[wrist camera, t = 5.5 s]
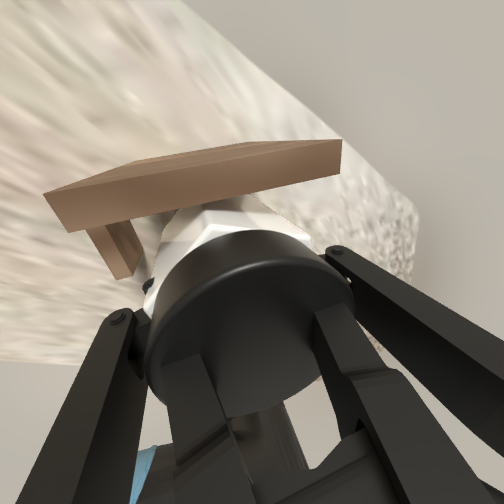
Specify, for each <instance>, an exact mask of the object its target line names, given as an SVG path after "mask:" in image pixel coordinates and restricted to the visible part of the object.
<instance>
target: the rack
mask: <svg viewBox="0 0 504 504" xmlns="http://www.w3.org/2000/svg"><path fill="white" fill-rule="evenodd" d="M341 151H342V139H332V140H299V141H266V142H245V143H239V144H233V145H227V146H222V147H216V148H210V149H204V150H198V151H192V152H186V153H180V154H174V155H168V156H162V157H157V158H151V159H145V160H139V161H134V162H132V163H129V164H126V165H123V166H120V167H117V168H115V169H112V170H109V171H106V172H103V173H101V174H98V175H95V176H92V177H89V178H86V179H84V180H81V181H78V182H75V183H72V184H69V185H67V186H64V187H61V188H58V189H55V190H52V191H50V192H47V193H44V194H43V195H44V197H45V198H46V200H47V202H48V203H49V205H50V206H51V208H52V209H53V211H54V212H55V214H56V215H57V217H58V218H59V220H60V221H61V223H62V224H63V226H64V227H65V229H66V230H67V232H68V233H70V232H75V231H80V230H84V229H85V230H86V232H87V233H88V235H89V236H90V238H91V240H92V241H93V243H94V245H95V246H96V248H97V250H98V251H99V253H100V254H101V256H102V258H103V259H104V261H105V263H106V264H107V266H108V268H109V269H110V271H111V272H112V274H113V276H114V277H115V279H116V280H119V279H123V278H127V277H130V276H133V274H134V271H135V269H136V266H137V264H138V261H139V258H140V256H141V253H142V251H143V247H142V245H141V243H140V241H139V239H138V237H137V235H136V233H135V231H134V229H133V226H132V224H131V222H130V219H135V218H139V217H144V216H148V215H153V214H158V213H162V212H167V211H171V210H176V209H180V208H185V207H190V206H194V205H199V204H203V203H208V202H213V201H217V200H222V199H226V198H231V197H235V196H240V195H245V194H249V193H254V192H258V191H263V190H268V189H272V188H277V187H281V186H286V185H290V184H295V183H300V182H304V181H309V180H313V179H318V178H323V177H327V176H332V175H336V174H340V164H341Z"/></svg>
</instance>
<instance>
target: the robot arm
mask: <svg viewBox="0 0 504 504" xmlns="http://www.w3.org/2000/svg"><path fill="white" fill-rule="evenodd" d="M318 256H319V257H321V258H322V259H323V260H324V261H326V262H327V263H328V264H329V265H330V266H332V267H333V268H334V269H335V270H337V271H338V272H339V273H340V274H341V275H342V276H343V277H344V278H345V280H346V281H347V283H348V284H349V286H350V288H351V290H352V292H353V295H354V299H355V306H356V315H355V318H354V317H353V315H352V314H351V312H350V311H349V309H348V308H347V306H346V305H345V303H344V302H343V303H340V304H337V305H335V306H332V307H329V308H326V309H323V310H320V311H318V312H315V313H314V356H315V359H316V362H317V364H318V367H319V370H320V373H321V375H322V378H323V381H324V384H325V386H326V389H327V392H328V395H329V398H330V400H331V403H332V406H333V409H334V412H335V414H336V418H337V423H338V429H339V433H340V437H341V441H340V442H339V444H338V445H337V446H336V447H335V448H334V449H333V451H332V452H331V453H330V454H329V455H328V456H327V457H326V458H325V459H324V461H323V462H322V463H321V464H320V465H319V466H318V467H317V468H315V469H309V467H308V464H307V462H306V459H305V456H304V454H303V451H302V449H301V446H300V444H299V441H298V439H297V436H296V434H295V431H294V428H293V426H292V423H291V421H290V418H289V416H288V413H287V410H286V408H285V405H284V403H283V401H282V402H280V403H278V404H275V405H273V406H271V407H268V408H266V409H263V410H260V411H257V412H253V413H250V414H246V415H241V416H236V417H229V418H227V417H226V414H225V411H224V409H223V406H222V404H221V401H220V399H219V396H218V394H217V391H216V389H215V387H214V384H213V382H212V380H211V378H210V375H209V373H208V371H207V369H206V366H205V364H204V362H203V359H202V357H201V355H200V353H199V354H197V355H194V356H191V357H188V358H185V359H182V360H180V361H177V362H174V363H171V364H168V365H166V366H163V367H160V369H161V375H162V381H163V387H164V393H165V399H166V404H167V410H168V416H169V422H170V428H171V434H172V440H173V443H170V444H166V445H161V446H157V445H153V446H152V447H151V448H148V449H145V450H141V451H138V447H139V440H140V434H141V428H142V421H143V415H144V409H145V402H146V396H147V390H148V382H147V380H146V376H145V371H144V356H145V350H146V345H147V340H148V334H149V329H150V324H151V319H150V318H149V316H148V315H147V314H146V313H145V312H144V310H143V308H141V309H139V310H137V311H135V312H133V311H132V310H131V309H130V308H123V309H119V310H117V311H115V312H113V313H111V314H110V315H109V316H108V317H106V318H105V319H104V321H103V322H102V324H101V326H100V328H99V330H98V332H97V334H96V336H95V338H94V341H93V343H92V345H91V347H90V349H89V351H88V353H87V355H86V357H85V359H84V361H83V364H82V366H81V368H80V370H79V372H78V374H77V376H76V378H75V381H74V383H73V384H72V387H71V389H70V391H69V393H68V395H67V397H66V399H65V401H64V403H63V405H62V407H61V409H60V412H59V414H58V416H57V418H56V420H55V422H54V424H53V426H52V428H51V430H50V432H49V435H48V437H47V439H46V441H45V443H44V445H43V447H42V449H41V451H40V453H39V455H38V457H37V460H36V462H35V464H34V466H33V468H32V470H31V472H30V474H29V476H28V478H27V480H26V483H25V485H24V487H23V489H22V491H21V493H20V495H19V497H18V499H17V501H16V503H15V504H504V493H502V492H501V491H499V490H497V489H496V488H494V487H492V486H490V485H489V484H487V483H485V482H484V481H482V480H480V479H479V478H478V477H477V476H476V474H475V473H474V472H473V470H472V469H471V467H470V466H469V465H468V464H467V462H466V461H465V459H464V458H463V456H462V455H461V453H460V452H459V451H458V449H457V448H456V447H455V445H454V444H453V442H452V441H451V440H450V438H449V437H448V435H447V434H446V432H445V431H444V430H443V428H442V427H441V425H440V424H439V423H438V421H437V420H436V418H435V417H434V416H433V414H432V413H431V411H430V410H429V409H428V407H427V406H426V405H425V403H424V402H423V400H422V399H421V398H420V396H419V395H418V393H417V392H416V390H415V389H414V388H413V386H412V385H411V383H410V382H409V381H408V379H407V378H406V377H405V376H404V375H403V374H402V373H401V372H400V371H398V370H397V369H392V368H388V367H387V366H386V364H385V363H384V362H383V360H382V359H381V357H380V356H379V354H378V353H377V351H376V350H375V348H374V347H373V345H372V344H371V342H370V341H369V339H368V338H367V336H366V335H365V333H364V332H363V330H362V329H361V327H360V326H359V324H358V323H357V321H358V322H359V323H360V324H361V325H362V326H363V327H364V328H365V329H366V330H367V331H368V332H369V333H370V334H371V335H372V336H373V337H374V338H375V339H376V340H377V341H378V342H379V343H380V344H382V345H383V346H384V347H385V348H386V349H387V350H388V351H389V352H390V353H391V354H392V355H393V356H394V357H395V358H396V359H397V360H398V361H399V362H400V363H401V364H402V365H403V366H404V367H405V368H406V369H407V370H408V371H409V372H410V373H411V374H412V375H413V376H414V377H415V378H416V379H418V380H419V382H421V384H423V385H424V386H425V387H426V388H427V389H428V390H429V391H430V392H431V393H432V394H433V395H434V396H435V397H436V398H437V399H438V400H439V401H440V402H441V403H442V404H443V405H444V406H445V407H446V408H447V409H448V410H449V411H450V412H451V413H452V414H453V415H454V416H456V417H457V418H458V419H459V420H460V421H461V422H462V423H463V424H464V425H465V426H466V427H468V428H469V429H470V430H471V431H472V432H473V433H474V434H475V435H476V436H478V437H479V438H480V439H481V440H482V441H484V442H485V443H486V444H487V445H488V446H490V447H491V448H492V449H494V450H495V451H496V452H497V453H499V454H500V455H501V456H502V457H504V341H503V340H501V339H499V338H497V337H496V336H494V335H493V334H491V333H489V332H488V331H486V330H484V329H483V328H481V327H479V326H477V325H476V324H474V323H472V322H471V321H469V320H467V319H466V318H464V317H462V316H460V315H459V314H457V313H456V312H454V311H452V310H451V309H449V308H447V307H445V306H444V305H442V304H441V303H439V302H437V301H435V300H434V299H432V298H431V297H429V296H427V295H426V294H424V293H422V292H420V291H419V290H417V289H415V288H414V287H412V286H410V285H409V284H407V283H405V282H404V281H402V280H400V279H399V278H397V277H395V276H394V275H392V274H390V273H389V272H387V271H385V270H384V269H382V268H380V267H379V266H377V265H375V264H373V263H372V262H370V261H368V260H367V259H365V258H363V257H362V256H360V255H358V254H357V253H355V252H353V251H352V250H350V249H348V248H346V247H344V246H340V245H337V246H336V245H334V246H330V247H328V248H326V250H325V254H322V255H318ZM154 278H155V277H153V278H151V279H149V280H148V281H147V282H145V284H144V285H143V287H142V289H143V291H144V293H145V295H146V294H147V291H148V289H149V287H150V288H151V287H152V285H153V283H154ZM347 278H349V279H350V280H351V282H349V281H348V280H347ZM151 316H152V315H151ZM355 319H356V320H357V321H356V320H355Z"/></svg>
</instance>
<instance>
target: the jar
mask: <svg viewBox="0 0 504 504" xmlns="http://www.w3.org/2000/svg"><path fill="white" fill-rule="evenodd" d="M153 277H155V278H154V283H153V285H152V287H151V288H150V287H149V289H148V291H147V294H146V297H145V300H144V304H143V310H144V312H145V313H146V314H147V315H148V316H149V318H150V319H151V324H150V329H149V334H148V340H147V345H146V350H145V356H144V371H145V376H146V380H147V382H148V385H149V387H150V389H151V390H152V392H153V393H154V395H155V396H156V397H157V398H158V399H159V400H160V401H161V402H162V403H163V404H165V405H166V406H167V404H166V399H165V393H164V387H163V381H162V375H161V369H160V367H163V366H166V365H168V364H171V363H174V362H177V361H180V360H182V359H185V358H188V357H191V356H194V355H197V354H199V353H200V355H201V357H202V359H203V362H204V364H205V366H206V369H207V371H208V373H209V375H210V378H211V380H212V382H213V384H214V387H215V389H216V391H217V394H218V396H219V399H220V401H221V404H222V406H223V409H224V411H225V414H226V417H227V418H229V417H236V416H241V415H246V414H250V413H253V412H257V411H260V410H263V409H266V408H268V407H271V406H273V405H275V404H278V403H280V402H282V401H284V400H286V399H288V398H289V397H291V396H293V395H295V394H296V393H298V392H300V391H301V390H302V389H304V388H306V387H307V386H308V385H310V384H311V383H312V382H314V381H315V380H316V379H317V378H318V377H320V376H321V373H320V370H319V367H318V364H317V362H316V359H315V356H314V313H315V312H318V311H320V310H323V309H326V308H329V307H332V306H335V305H337V304H340V303H343V302H344V303H345V305H346V306H347V308H348V309H349V311H350V312H351V314H352V315H353V317H354V318H355V315H356V306H355V299H354V295H353V292H352V290H351V288H350V286H349V284H348V283H347V281H346V280H345V278H344V277H343V276H342V275H341V274H340V273H339V272H338V271H337V270H335V269H334V268H333V267H332V266H330V265H329V264H328V263H327V262H326V261H324V260H323V259H322V258H321V257H319V256H318V255H317V254H316V253H314V252H313V248H312V242H311V238H310V236H309V235H308V234H306V233H305V232H303V231H302V230H300V229H299V228H298V227H296V226H295V225H293V224H292V223H290V222H289V221H288V220H286V219H285V218H283V217H282V216H281V215H279V214H278V213H276V212H275V211H273V210H272V209H271V208H269V207H268V206H266V205H265V204H264V203H262V202H261V201H259V200H258V199H256V198H255V197H254V196H252V195H248V194H245V195H240V196H235V197H231V198H226V199H222V200H217V201H213V202H208V203H203V204H199V205H194V206H190V207H185V208H180V209H179V210H178V211H177V212H176V214H175V215H174V216H173V218H172V219H171V220H170V222H169V223H168V224H167V225H166V227H165V228H164V229H163V232H162V236H161V240H160V244H159V247H158V251H157V255H156V259H155V263H154V266H153V270H152V274H151V278H153ZM151 278H150V279H151ZM151 315H152V316H151Z"/></svg>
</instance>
